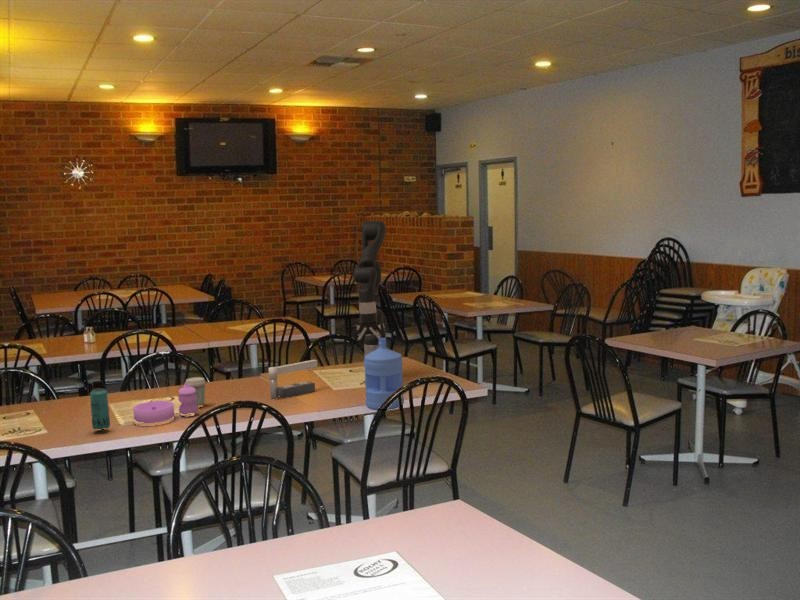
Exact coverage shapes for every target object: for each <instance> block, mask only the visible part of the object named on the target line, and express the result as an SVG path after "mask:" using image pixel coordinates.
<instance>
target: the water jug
mask: <svg viewBox="0 0 800 600" xmlns="http://www.w3.org/2000/svg"><path fill="white" fill-rule="evenodd" d="M378 340H379V348H378V349H377V350H375V351H373V352H371V353H369V354H367V355H365V354H364V359H363V367H364V386H365V405H366V407H367V408H369V409H372V410H377V411H379V410H378V409H379V407H380V406H381V405H382V404H383V403H384V402H385V401H386V399H387V398H388V397H390V396H391V395H392V394H393V393H394V392H396V391H397V390H398V389H399V388H400V387H402V386H403V387H404V379H403V356H402V354H401V353H399V352H397V351H394V350H393V349H390V348H388V347H387V338H386V337H384V338H379V339H378ZM401 399H402V404H403V405H404V404H405V400H404V399H405V398H404V393H403V394H402V397H401ZM399 408H401V407H400V406H399V400H398V399H397V400H396V401H395V402H393V403H392V405H391V406H390V407H389V408H388V409H387V410H388V411H389V410H395V409H399ZM387 410H386V411H387Z"/></svg>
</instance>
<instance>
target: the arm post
mask: <svg viewBox="0 0 800 600" xmlns="http://www.w3.org/2000/svg"><path fill="white" fill-rule="evenodd" d="M269 387H270V388H269V389H270V399H271V400H272V399H275V400H277V399H276V398H278V399H279V397H278V390H277V387H278V377H277V378H275V379H270V378H269Z"/></svg>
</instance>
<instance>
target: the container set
mask: <svg viewBox="0 0 800 600" xmlns="http://www.w3.org/2000/svg"><path fill="white" fill-rule="evenodd" d="M195 391H196V389H195V388H194V387H190V385H189V383H186V384H185V383H184V384H183V387H181V388H180V389H179V390H178V394H179V395H178V398H177V399H178V401H179V403H181V404H180V405H179V408H178V412H179V414H180V413H182V414H188V413H196V412H197V413H198V411H199V408H198V406H197V404H196V403H194V402H195V401H196V399H197V395H196V394H195ZM132 409H133V420H134V419H135V420H136V421H138V422H144V423H154V422H161V421H164V420H168V419H170V418H172V417H173V416H174V417H175V406H174V402H172V401H169V400H152V401H146V402H143V403H139V404H137V405H134V406H133V408H132ZM197 413H196V414H197Z"/></svg>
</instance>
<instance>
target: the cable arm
mask: <svg viewBox="0 0 800 600" xmlns="http://www.w3.org/2000/svg"><path fill="white" fill-rule="evenodd" d="M314 368H318V360H317V359H311V360H305V361H300V362H295V363H289V364H284V365H279V366H271V367H270V366H269V367H268V379H269V380H270V379H275V378H277V379H278V376H280V375H283V374H284V375H285V374H289V373H294V372H298V371H305V370H309V369H314Z"/></svg>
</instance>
